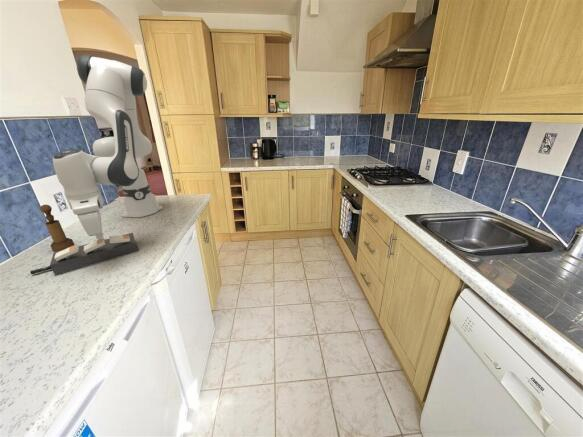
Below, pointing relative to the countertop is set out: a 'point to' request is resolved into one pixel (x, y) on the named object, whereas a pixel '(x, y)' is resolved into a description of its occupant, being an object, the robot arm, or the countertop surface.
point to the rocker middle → (94, 245)
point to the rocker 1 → (66, 252)
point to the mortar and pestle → (56, 231)
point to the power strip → (90, 256)
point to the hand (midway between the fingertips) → (100, 237)
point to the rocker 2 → (119, 238)
